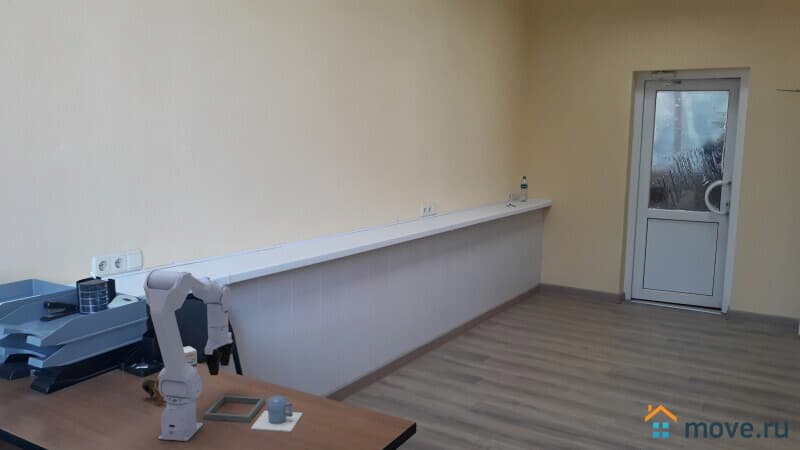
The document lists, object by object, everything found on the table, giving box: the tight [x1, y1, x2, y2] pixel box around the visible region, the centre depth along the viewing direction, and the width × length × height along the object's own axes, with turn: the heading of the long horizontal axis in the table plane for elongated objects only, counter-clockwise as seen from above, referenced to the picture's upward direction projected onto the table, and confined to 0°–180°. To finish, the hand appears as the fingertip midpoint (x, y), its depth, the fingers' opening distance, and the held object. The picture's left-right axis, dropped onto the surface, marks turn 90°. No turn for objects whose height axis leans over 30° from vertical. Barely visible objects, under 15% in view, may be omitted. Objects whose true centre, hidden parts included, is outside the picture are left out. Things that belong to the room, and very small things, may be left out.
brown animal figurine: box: [141, 378, 167, 406], centre depth 186 cm, size 12×10×8 cm
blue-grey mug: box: [267, 395, 294, 424], centre depth 172 cm, size 7×5×6 cm
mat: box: [250, 410, 303, 433], centre depth 172 cm, size 11×11×1 cm
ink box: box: [183, 345, 198, 370], centre depth 195 cm, size 9×5×12 cm, turn 133°
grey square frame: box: [203, 394, 266, 423], centre depth 179 cm, size 13×13×2 cm
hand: (219, 370), depth 184 cm, fingers open, 7 cm apart
